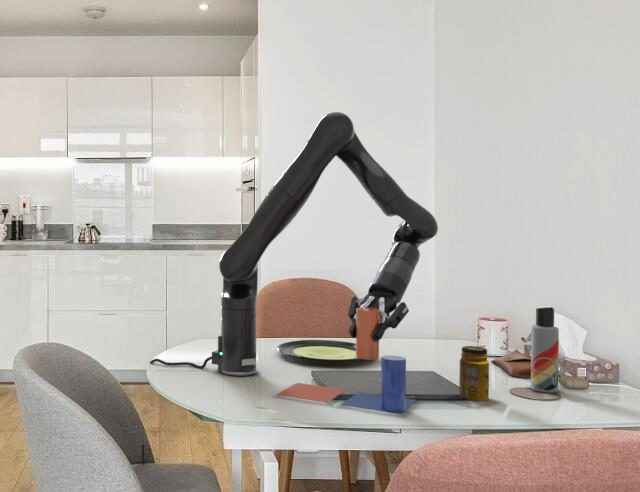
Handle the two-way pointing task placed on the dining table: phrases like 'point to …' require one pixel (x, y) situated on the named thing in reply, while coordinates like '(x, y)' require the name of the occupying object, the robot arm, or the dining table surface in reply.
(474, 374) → the condiment
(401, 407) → the blue canister
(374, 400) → the blue mat
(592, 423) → the dining table surface
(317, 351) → the plate
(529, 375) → the sunglasses case
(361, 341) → the terracotta canister
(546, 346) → the lotion bottle
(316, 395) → the terracotta mat
